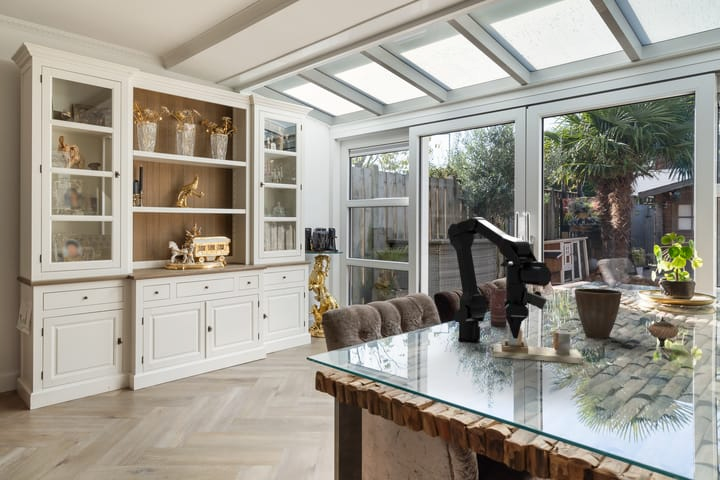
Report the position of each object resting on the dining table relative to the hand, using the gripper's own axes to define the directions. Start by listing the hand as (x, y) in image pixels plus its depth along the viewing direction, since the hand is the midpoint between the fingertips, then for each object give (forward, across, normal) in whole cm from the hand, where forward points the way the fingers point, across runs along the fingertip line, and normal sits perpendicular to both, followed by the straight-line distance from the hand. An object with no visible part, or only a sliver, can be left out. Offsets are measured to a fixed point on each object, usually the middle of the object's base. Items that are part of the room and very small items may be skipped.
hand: (514, 335), depth 145 cm
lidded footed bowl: (+6, +23, -46) cm, 52 cm away
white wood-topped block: (+4, 0, 0) cm, 4 cm away
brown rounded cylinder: (+6, +44, +4) cm, 45 cm away
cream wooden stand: (+6, 0, -6) cm, 8 cm away
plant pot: (+6, +35, -29) cm, 46 cm away
